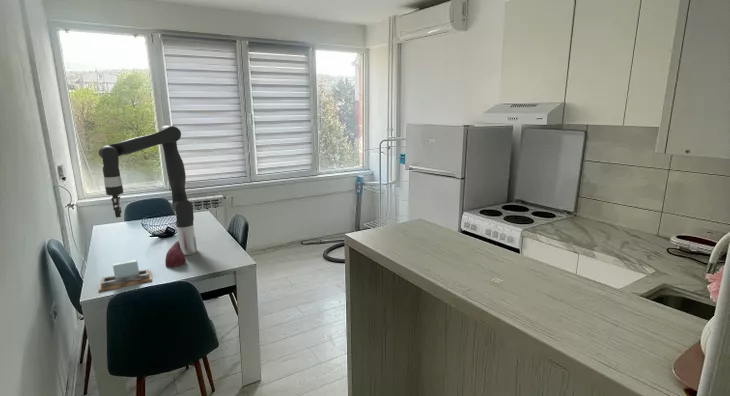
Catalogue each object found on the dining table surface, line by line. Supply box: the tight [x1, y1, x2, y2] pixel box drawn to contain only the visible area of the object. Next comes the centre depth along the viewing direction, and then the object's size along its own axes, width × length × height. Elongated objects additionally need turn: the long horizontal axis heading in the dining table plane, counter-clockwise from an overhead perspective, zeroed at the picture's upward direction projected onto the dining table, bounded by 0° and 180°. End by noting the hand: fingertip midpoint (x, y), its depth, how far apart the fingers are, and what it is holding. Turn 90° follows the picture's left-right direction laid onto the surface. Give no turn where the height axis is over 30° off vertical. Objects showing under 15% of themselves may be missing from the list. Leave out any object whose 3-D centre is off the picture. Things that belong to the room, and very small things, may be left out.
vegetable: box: [164, 240, 187, 269], centre depth 207 cm, size 10×10×15 cm
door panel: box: [112, 259, 140, 280], centre depth 185 cm, size 10×3×9 cm, turn 120°
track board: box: [98, 268, 153, 292], centre depth 186 cm, size 22×12×3 cm, turn 121°
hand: (118, 215), depth 195 cm, fingers open, 8 cm apart
